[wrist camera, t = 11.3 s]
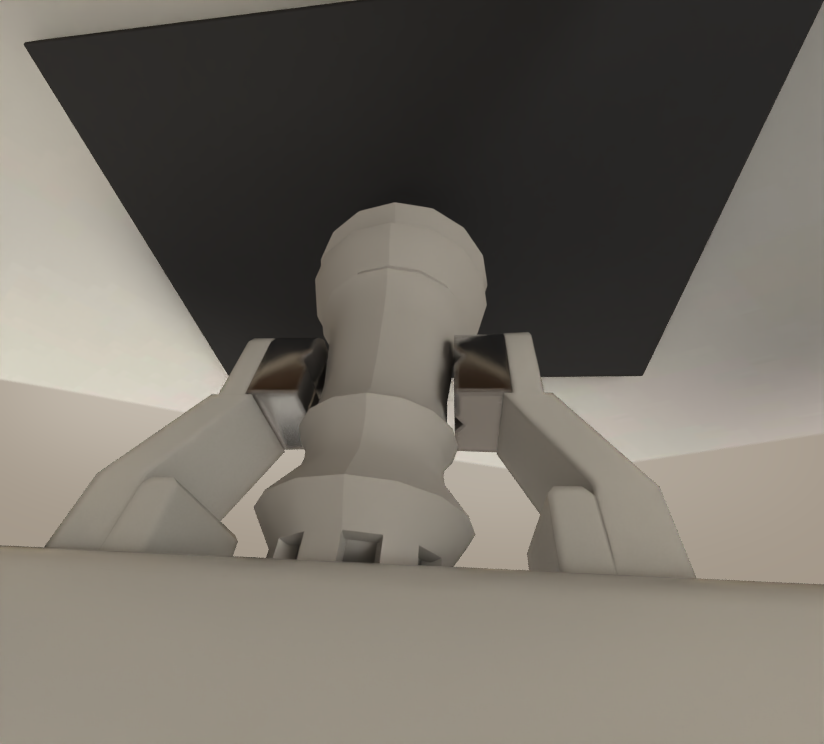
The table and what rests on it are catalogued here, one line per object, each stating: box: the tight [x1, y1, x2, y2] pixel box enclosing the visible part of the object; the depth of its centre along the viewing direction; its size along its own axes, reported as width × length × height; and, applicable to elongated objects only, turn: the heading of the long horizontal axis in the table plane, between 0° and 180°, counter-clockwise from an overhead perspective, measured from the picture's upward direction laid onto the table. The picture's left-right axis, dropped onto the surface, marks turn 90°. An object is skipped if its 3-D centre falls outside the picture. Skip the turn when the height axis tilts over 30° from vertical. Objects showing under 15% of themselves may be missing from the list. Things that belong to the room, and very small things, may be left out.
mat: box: [24, 0, 824, 378], centre depth 13 cm, size 18×12×1 cm, turn 95°
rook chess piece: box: [254, 202, 487, 567], centre depth 8 cm, size 4×4×8 cm
